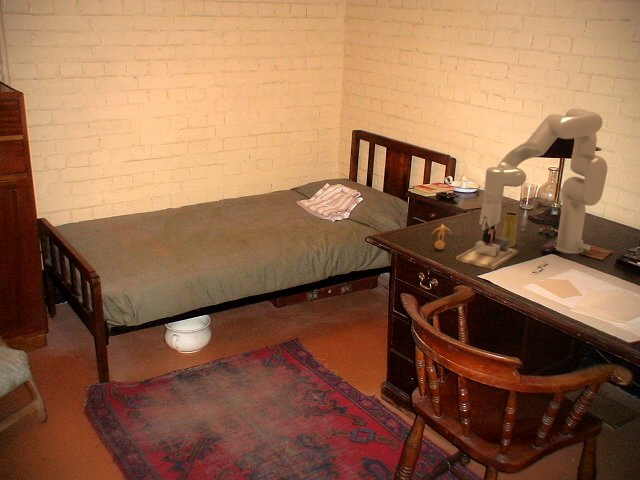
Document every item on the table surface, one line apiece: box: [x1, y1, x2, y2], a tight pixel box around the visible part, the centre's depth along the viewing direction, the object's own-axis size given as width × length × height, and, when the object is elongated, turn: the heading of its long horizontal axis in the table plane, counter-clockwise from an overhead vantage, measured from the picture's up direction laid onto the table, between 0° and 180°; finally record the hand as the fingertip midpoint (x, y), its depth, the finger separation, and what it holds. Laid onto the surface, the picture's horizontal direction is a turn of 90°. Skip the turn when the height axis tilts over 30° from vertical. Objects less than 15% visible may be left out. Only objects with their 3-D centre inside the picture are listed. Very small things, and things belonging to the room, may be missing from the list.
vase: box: [501, 211, 519, 248], centre depth 285 cm, size 6×6×14 cm
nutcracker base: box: [455, 235, 519, 271], centre depth 272 cm, size 16×24×6 cm, turn 141°
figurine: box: [431, 223, 452, 251], centre depth 278 cm, size 8×6×12 cm
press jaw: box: [475, 227, 500, 257], centre depth 270 cm, size 9×4×10 cm, turn 50°
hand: (488, 240), depth 270 cm, fingers closed on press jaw, 3 cm apart
